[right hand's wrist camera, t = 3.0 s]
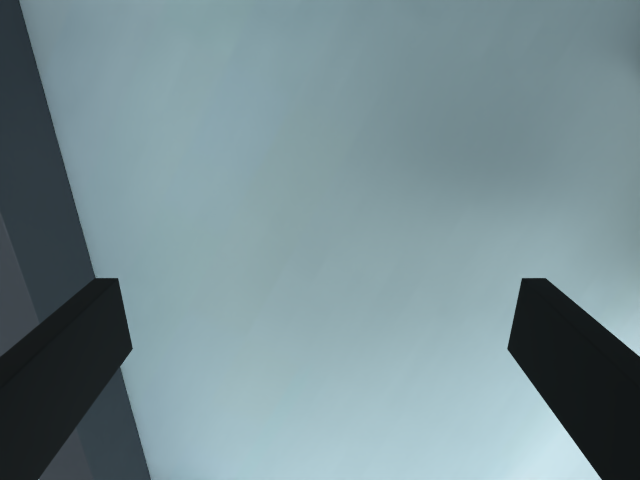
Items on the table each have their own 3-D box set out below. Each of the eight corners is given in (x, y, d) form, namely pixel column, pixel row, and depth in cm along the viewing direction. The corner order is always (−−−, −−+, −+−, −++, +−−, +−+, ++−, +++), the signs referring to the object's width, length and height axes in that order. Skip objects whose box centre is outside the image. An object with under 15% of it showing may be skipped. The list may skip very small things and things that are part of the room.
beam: (-193, -432, 21) (-459, -701, 14) (-103, -439, 20) (-325, -714, 13) (115, 500, 46) (78, 574, 39) (156, 500, 46) (126, 573, 39)
